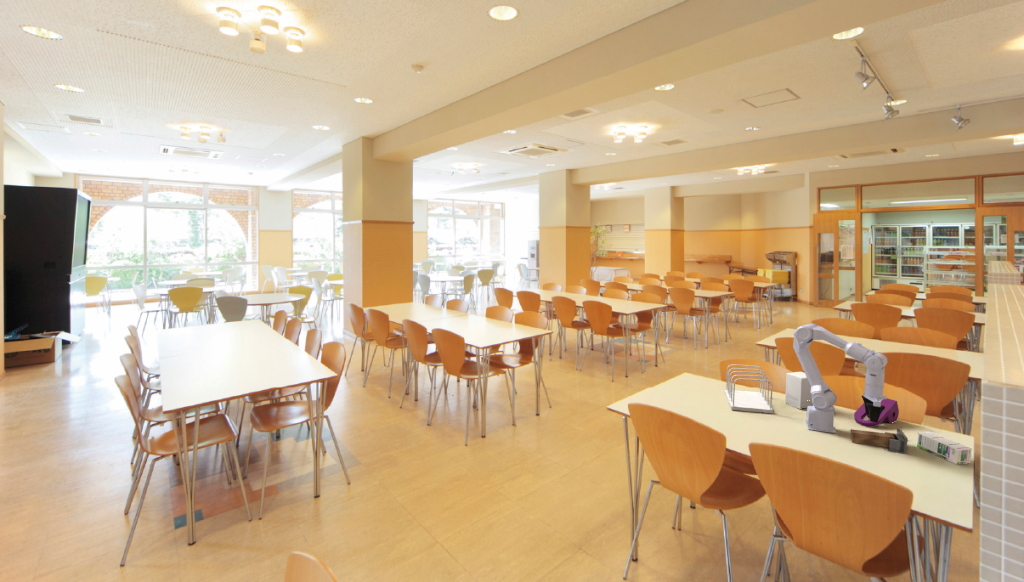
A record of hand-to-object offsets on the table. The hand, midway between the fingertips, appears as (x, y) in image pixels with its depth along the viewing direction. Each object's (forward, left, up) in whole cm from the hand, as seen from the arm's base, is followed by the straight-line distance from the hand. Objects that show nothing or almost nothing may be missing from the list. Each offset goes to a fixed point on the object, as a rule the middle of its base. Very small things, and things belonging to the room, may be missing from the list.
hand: (871, 418), depth 182 cm
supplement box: (-21, +33, -10) cm, 40 cm away
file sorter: (-43, +27, -10) cm, 52 cm away
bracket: (+6, -2, -9) cm, 12 cm away
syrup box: (+17, +3, -7) cm, 18 cm away
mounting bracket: (+6, +24, -10) cm, 26 cm away
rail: (0, -2, -9) cm, 9 cm away
